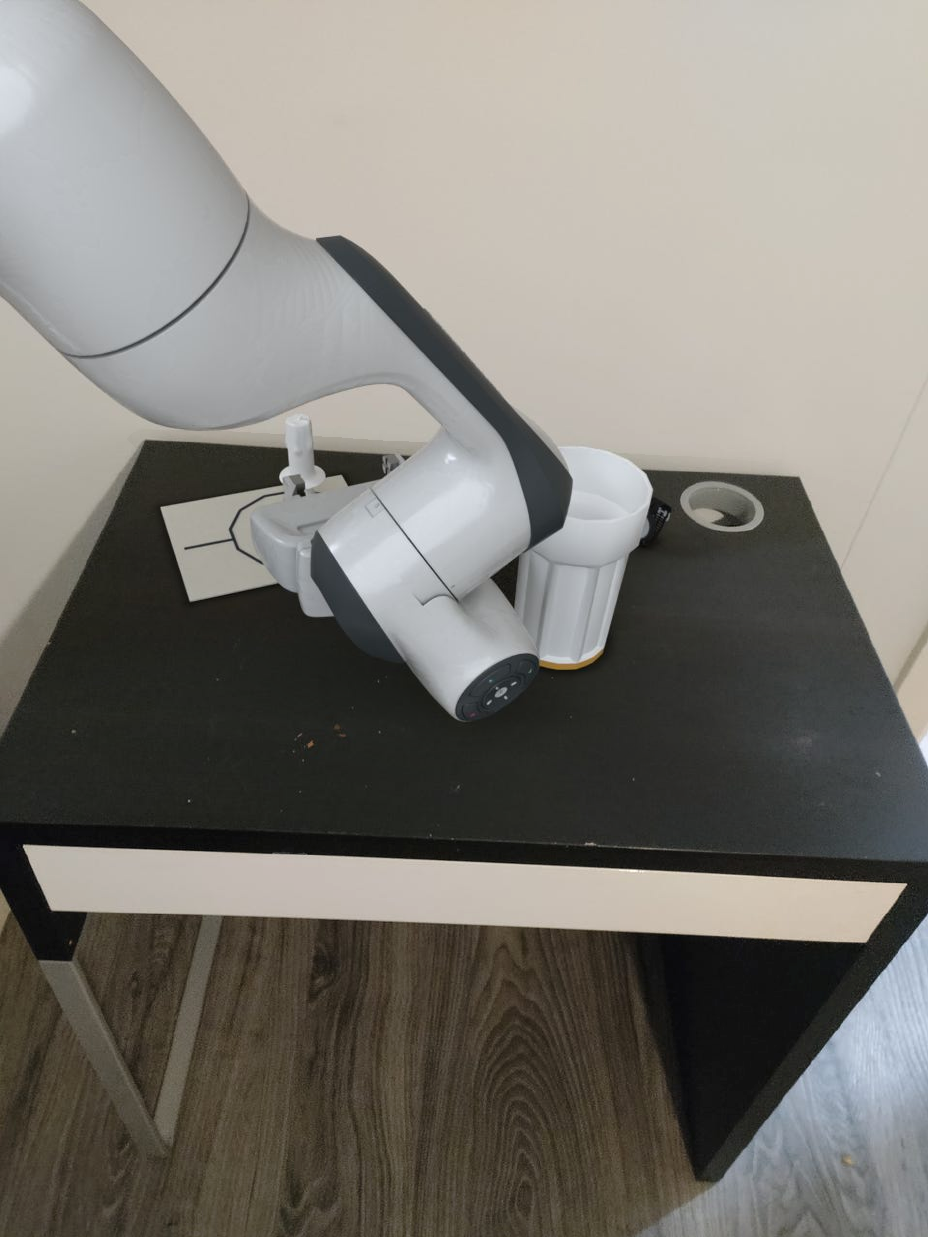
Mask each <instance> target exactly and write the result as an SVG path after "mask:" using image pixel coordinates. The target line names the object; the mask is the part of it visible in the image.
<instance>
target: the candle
mask: <svg viewBox="0 0 928 1237" xmlns="http://www.w3.org/2000/svg"><path fill="white" fill-rule="evenodd" d="M284 431H285V432H284V434H285V439H284V443H285V446H286V448H287V458H288V466H286V467H284V468H283V469H282V470H281V471H280V473H279V478H278V479H279V481H280V482H281V484H283V479H282V478H283V477H285V476H290V475H295V474H300V476H301V478H302V479H303V480H304V482H305V490H304V491H305V493H306V496H308V495H313V494H316V493H315V491H314V489H313V488H314V487H317V486H319V485H320V484H321V483H322V482H323V481H324V480H325V478H326V473H325V471H324V470H323V469H322V468H321V467H320V466H318V465H316V464H315V454H314V451H315V450H314V436H313V424H312V420H311V417H310V416H308V415H307V414H305V413H293V414H291V415H289V416H288V417H287V418H286V420H285V423H284Z"/></svg>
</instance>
